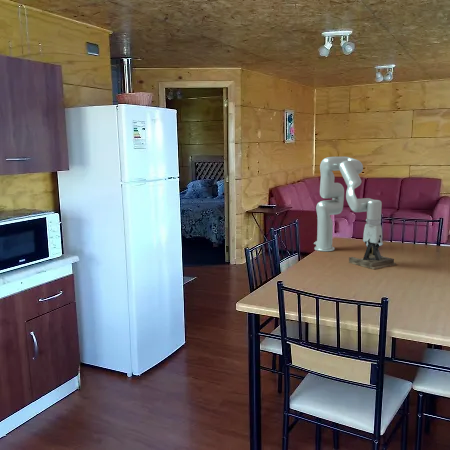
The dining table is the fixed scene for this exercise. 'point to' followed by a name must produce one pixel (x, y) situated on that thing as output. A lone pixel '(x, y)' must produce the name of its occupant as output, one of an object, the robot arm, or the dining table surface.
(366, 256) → the phone stand
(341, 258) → the dining table surface
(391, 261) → the board
